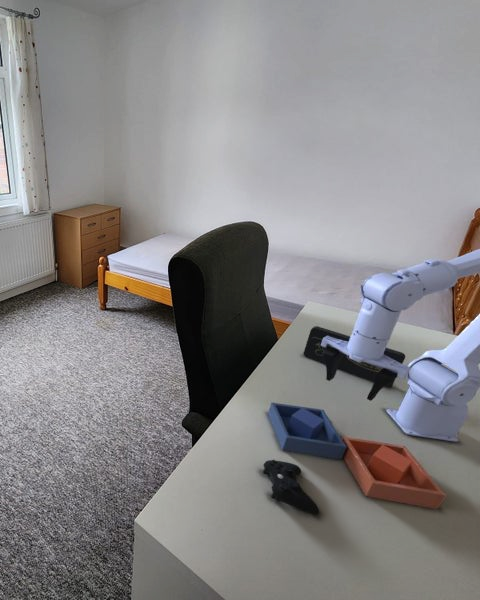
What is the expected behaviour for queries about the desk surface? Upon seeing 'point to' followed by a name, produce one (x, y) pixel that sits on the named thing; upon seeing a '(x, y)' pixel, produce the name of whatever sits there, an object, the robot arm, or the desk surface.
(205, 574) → the desk surface
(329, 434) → the blue bin
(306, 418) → the blue block
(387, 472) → the terracotta block
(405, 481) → the bin
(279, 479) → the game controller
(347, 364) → the nameplate
